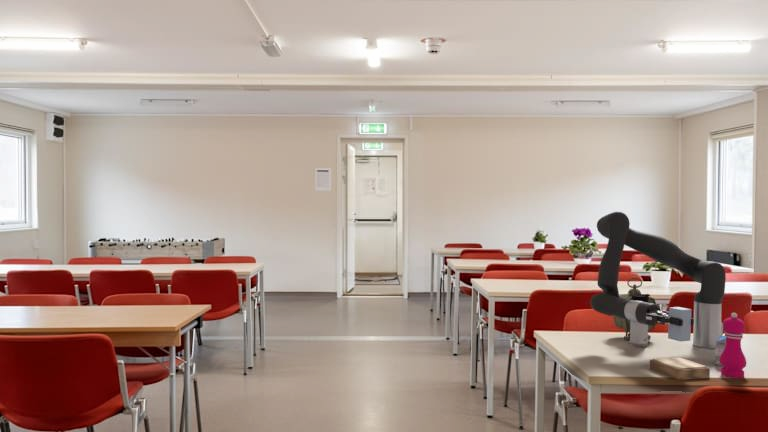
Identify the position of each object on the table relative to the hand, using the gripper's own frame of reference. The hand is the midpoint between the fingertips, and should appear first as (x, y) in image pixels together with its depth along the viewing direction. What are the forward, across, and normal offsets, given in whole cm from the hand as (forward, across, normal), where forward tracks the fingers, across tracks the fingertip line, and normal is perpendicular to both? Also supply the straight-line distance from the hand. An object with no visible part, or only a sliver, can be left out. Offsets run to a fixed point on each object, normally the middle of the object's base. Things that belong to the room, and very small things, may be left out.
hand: (687, 322), depth 173 cm
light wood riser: (-2, 0, +17) cm, 17 cm away
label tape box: (-5, +26, +17) cm, 31 cm away
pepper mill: (+5, +15, +17) cm, 23 cm away
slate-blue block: (-3, 0, +6) cm, 7 cm away
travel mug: (-35, +20, +17) cm, 44 cm away
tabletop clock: (-44, +28, +17) cm, 55 cm away
